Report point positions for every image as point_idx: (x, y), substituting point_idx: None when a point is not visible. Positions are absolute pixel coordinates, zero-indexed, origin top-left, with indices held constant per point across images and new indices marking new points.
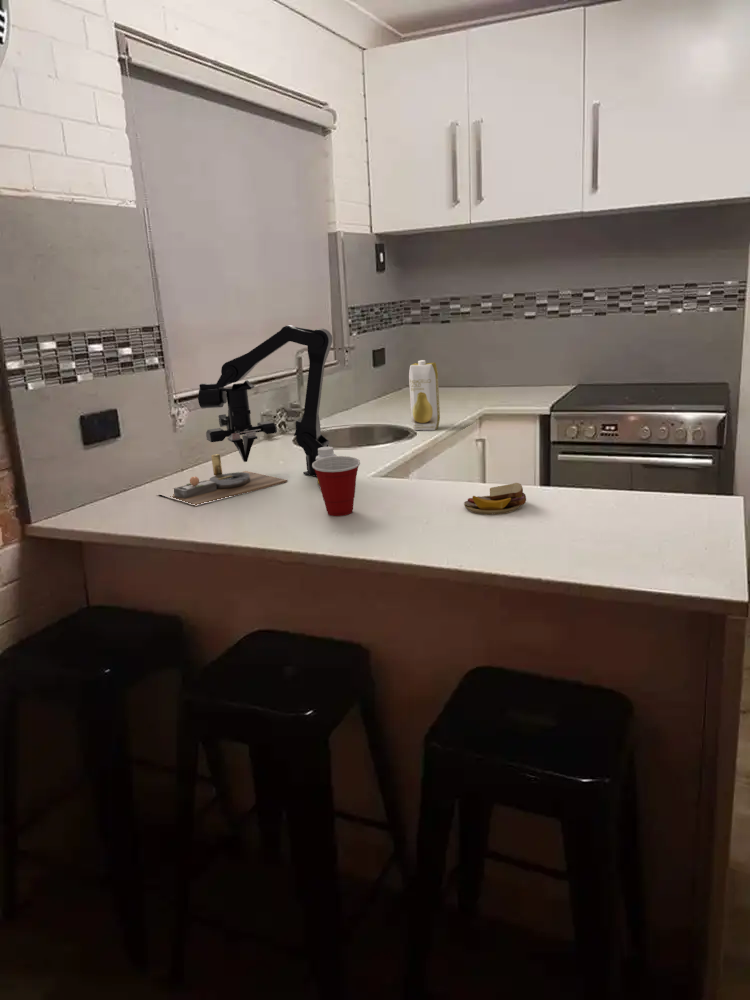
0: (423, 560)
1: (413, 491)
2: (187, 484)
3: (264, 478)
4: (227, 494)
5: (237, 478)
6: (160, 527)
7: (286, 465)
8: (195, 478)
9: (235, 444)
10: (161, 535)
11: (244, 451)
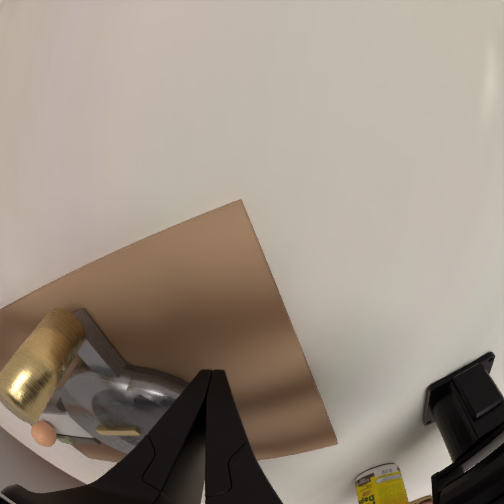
0: None
1: (421, 484)
2: None
3: (282, 411)
4: None
5: None
6: (74, 471)
7: (489, 178)
8: (47, 446)
9: (111, 483)
10: (88, 483)
11: (203, 474)
